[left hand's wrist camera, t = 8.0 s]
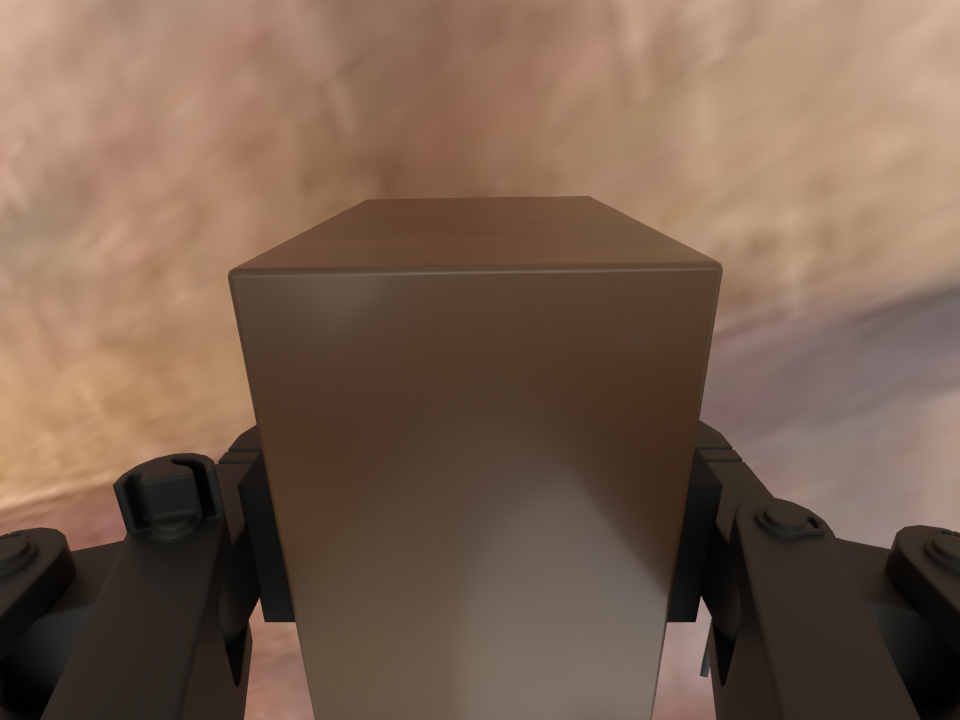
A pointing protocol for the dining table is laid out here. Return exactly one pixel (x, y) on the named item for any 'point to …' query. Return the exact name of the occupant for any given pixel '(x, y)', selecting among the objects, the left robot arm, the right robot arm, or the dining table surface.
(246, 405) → the dining table surface
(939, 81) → the dining table surface
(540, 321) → the bar
